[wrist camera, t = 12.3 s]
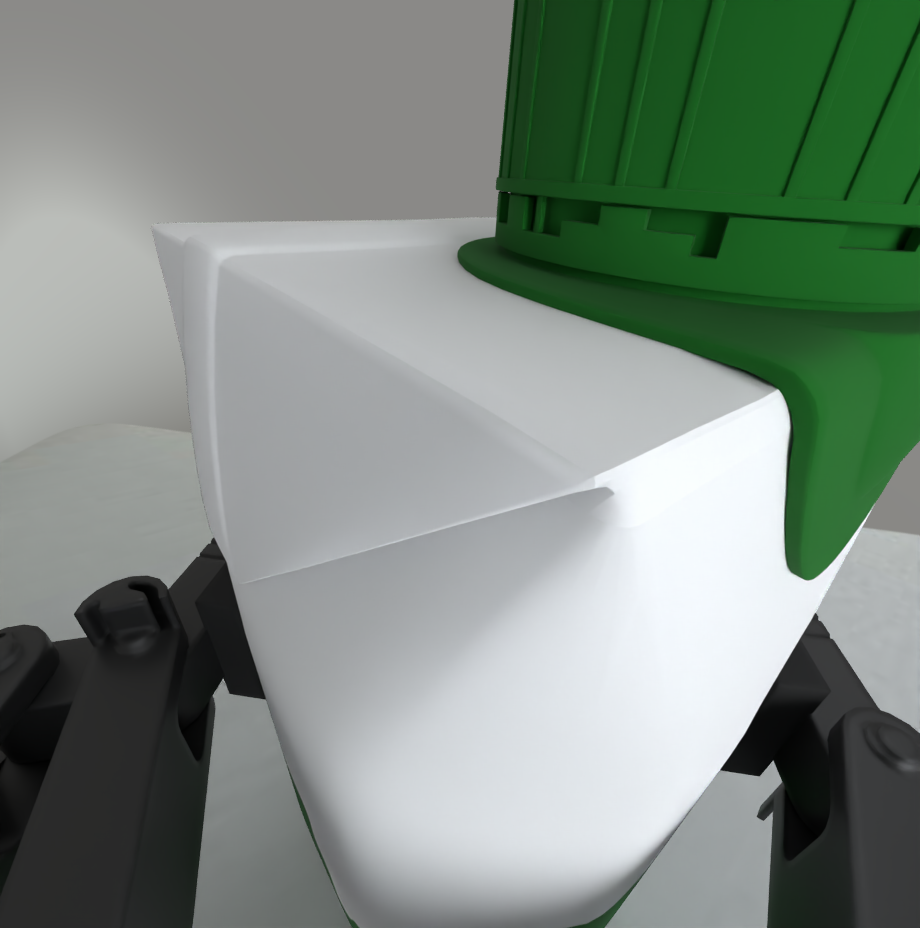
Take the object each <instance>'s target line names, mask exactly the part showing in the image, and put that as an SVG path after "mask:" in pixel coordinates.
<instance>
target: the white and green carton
mask: <svg viewBox="0 0 920 928" xmlns="http://www.w3.org/2000/svg"><path fill="white" fill-rule="evenodd" d="M496 190H500V192H499V194H498V206H497V218H489V217H488V218H486V217H479V218H452V219H451V218H449V219H421V220H360V221H359V220H358V221H284V222H283V221H280V222H209V223H207V222H206V223H205V222H203V223H157V224H153V225H152V226H151V227H152V233H153V237H154V241H155V246H156V249H157V254H158V258H159V262H160V266H161V269H162V273H163V277H164V281H165V284H166V288H167V292H168V296H169V299H170V303H171V308H172V312H173V317H174V321H175V326H176V330H177V334H178V339H179V342H180V347H181V351H182V356H183V360H184V365H185V374H186V385H187V396H188V407H189V416H190V423H191V430H192V439H193V446H194V454H195V461H196V466H197V472H198V478H199V484H200V489H201V495H202V500H203V504H204V508H205V511H206V515H207V519H208V523H209V527H210V530H211V532H212V534H213V536H214V538H215V540H216V542H217V544H218V546H219V548H220V550H221V552H222V554H223V556H224V558H225V560H226V562H227V565H228V569H229V573H230V577H231V581H232V584H233V588H234V592H235V596H236V599H237V603H238V607H239V611H240V615H241V618H242V622H243V626H244V630H245V634H246V637H247V640H248V644H249V647H250V650H251V653H252V656H253V659H254V663H255V666H256V669H257V672H258V675H259V678H260V682H261V685H262V688H263V691H264V694H265V698H266V701H267V704H268V707H269V710H270V713H271V717H272V720H273V723H274V726H275V729H276V733H277V736H278V739H279V742H280V745H281V748H282V751H283V755H284V758H285V761H286V764H287V767H288V770H289V774H290V777H291V780H292V783H293V786H294V789H295V792H296V796H297V799H298V802H299V805H300V808H301V811H302V813H303V816H304V819H305V821H306V824H307V826H308V829H309V831H310V834H311V836H312V839H313V841H314V843H315V846H316V848H317V850H318V853H319V855H320V857H321V860H322V862H323V864H324V867H325V869H326V871H327V873H328V876H329V878H330V880H331V883H332V885H333V887H334V890H335V892H336V894H337V896H338V899H339V901H340V903H341V906H342V908H343V910H344V912H345V914H346V916H347V918H348V920H349V922H350V924H351V926H352V928H604V927H605V926H606V925H607V923H608V922H609V921H610V919H611V918H612V917H613V916H614V914H615V913H616V912H617V910H618V909H619V908H620V906H621V905H622V903H623V902H624V901H625V899H626V898H627V897H628V895H629V894H630V893H631V891H632V890H633V888H634V887H635V886H636V884H637V883H638V882H639V880H640V879H641V878H642V876H643V875H644V873H645V872H646V871H647V869H648V868H649V867H650V865H651V864H652V863H653V861H654V860H655V858H656V857H657V856H658V854H659V853H660V852H661V850H662V849H663V847H664V846H665V845H666V843H667V842H668V841H669V839H670V838H671V836H672V835H673V834H674V832H675V831H676V830H677V828H678V827H679V825H680V824H681V823H682V821H683V820H684V819H685V817H686V816H687V814H688V813H689V812H690V810H691V809H692V808H693V806H694V805H695V803H696V802H697V801H698V799H699V798H700V797H701V795H702V794H703V792H704V791H705V790H706V788H707V787H708V785H709V784H710V783H711V781H712V780H713V779H714V777H715V776H716V774H717V773H718V772H719V770H720V769H721V768H722V766H723V765H724V763H725V762H726V761H727V759H728V758H729V757H730V755H731V754H732V752H733V751H734V749H735V748H736V746H737V745H738V743H739V742H740V740H741V739H742V737H743V736H744V734H745V732H746V731H747V729H748V727H749V725H750V723H751V721H752V720H753V718H754V716H755V714H756V712H757V711H758V709H759V707H760V705H761V703H762V702H763V700H764V698H765V697H766V695H767V693H768V692H769V690H770V688H771V686H772V685H773V683H774V681H775V680H776V678H777V676H778V675H779V673H780V671H781V670H782V668H783V666H784V664H785V663H786V661H787V659H788V658H789V656H790V654H791V653H792V651H793V649H794V648H795V646H796V644H797V643H798V641H799V639H800V638H801V636H802V634H803V633H804V631H805V629H806V628H807V626H808V624H809V623H810V621H811V619H812V618H813V616H814V614H815V612H816V610H817V609H818V607H819V605H820V603H821V601H822V599H823V598H824V596H825V594H826V592H827V590H828V588H829V587H830V585H831V583H832V581H833V579H834V577H835V576H836V574H837V572H838V570H839V568H840V567H841V565H842V563H843V561H844V559H845V557H846V556H847V554H848V552H849V550H850V548H851V546H852V545H853V543H854V541H855V539H856V537H857V536H858V534H859V532H860V530H861V528H862V526H863V525H864V523H865V521H866V519H867V517H868V515H869V514H870V512H871V510H872V508H873V506H874V505H875V503H876V501H877V500H878V498H879V496H880V495H881V493H882V492H883V490H884V488H885V487H886V485H887V483H888V482H889V480H890V479H891V477H892V475H893V474H894V472H895V470H896V469H897V467H898V465H899V464H900V462H901V461H902V460H903V458H904V457H905V456H906V455H907V454H908V453H909V452H910V451H911V450H912V448H913V447H914V446H915V445H916V444H917V443H918V442H919V441H920V0H514V11H513V22H512V33H511V45H510V55H509V67H508V78H507V89H506V100H505V112H504V123H503V134H502V145H501V156H500V168H499V177H498V178H497V181H496ZM504 191H505V192H504ZM508 192H510V193H508Z"/></svg>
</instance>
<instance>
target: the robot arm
mask: <svg viewBox="0 0 920 928" xmlns="http://www.w3.org/2000/svg"><path fill="white" fill-rule="evenodd" d="M74 616H75V617H76V619H77V620H78V622H79V624H80V625H81V627H82V629H83V630H84V632H85V634H86V635H87V637H85V638H78V639H71V640H63V641H56V642H51V640H50V639H49V638H48V636H47V635H46V633H45V632H44V631H43V630H41V629H40V628H39V627H38V626H30V625H19V626H13V627H7V628H4V629H2V630H0V928H192V925H193V915H194V906H195V897H196V887H197V878H198V869H199V859H200V850H201V840H202V831H203V822H204V812H205V803H206V793H207V784H208V775H209V765H210V756H211V746H212V737H213V728H214V718H215V703H214V698H213V696H212V695H213V694H214V692H215V691H216V689H217V687H218V686H219V684H220V682H221V681H222V679H223V678H224V680H225V683H226V685H227V688H228V691H229V693H230V694H234V695H240V696H247V697H253V698H260V699H266V698H265V694H264V691H263V688H262V685H261V682H260V678H259V675H258V672H257V669H256V666H255V663H254V659H253V656H252V653H251V650H250V647H249V644H248V640H247V637H246V634H245V630H244V626H243V622H242V618H241V615H240V611H239V607H238V603H237V599H236V596H235V592H234V588H233V584H232V581H231V577H230V573H229V569H228V565H227V562H226V560H225V558H224V556H223V554H222V552H221V550H220V548H219V546H218V544H217V542H216V540H215V538H213V539H212V540H211V544H208V545H207V546H206V547H205V548H204V549H203V551H202V552H201V553H200V556H199V557H196V559H195V560H194V561H193V562H192V563H191V564H190V565H189V567H188V568H187V569H186V570H185V571H184V572H183V574H182V575H181V576H180V577H179V578H178V579H177V580H176V582H175V583H174V584H173V585H172V586H171V587H170V588H169V590H168V589H167V586H166V585H165V584H164V583H163V582H162V581H161V580H160V579H158V578H154V577H150V576H132V577H128V578H125V579H121V580H118V581H114V582H112V583H110V584H108V585H106V586H104V587H102V588H100V589H99V590H97V591H95V592H94V593H93V594H92V595H90V596H89V597H88V598H87V599H86V600H84V601H83V602H82V603H81V605H80V606H79V608H78V609H77V611H76V612H75V613H74ZM773 760H774V763H775V765H776V767H777V770H778V772H779V775H780V777H781V779H782V783H781V784H780V785H779V787H778V788H777V789H776V790H775V791H774V792H773V793H772V794H771V795H770V796H769V798H768V799H767V800H766V801H765V802H764V803H763V804H762V805H761V806H760V809H759V812H758V815H757V817H758V818H759V819H761V820H763V821H764V820H765V819H766V818H767V817H768V816H769V815H770V814H771V813H772V812H773V826H772V845H771V864H770V884H769V903H768V922H767V928H920V733H918V732H917V731H916V730H915V729H914V728H912V727H911V726H910V725H909V724H907V723H905V722H903V721H902V720H900V719H898V718H896V717H895V716H893V715H891V714H889V713H887V712H884V711H881V710H880V709H879V708H878V707H877V705H876V704H875V702H874V701H873V699H872V698H871V696H870V695H869V693H868V692H867V690H866V689H865V687H864V686H863V684H862V682H861V681H860V679H859V678H858V676H857V675H856V673H855V672H854V670H853V669H852V667H851V666H850V664H849V663H848V661H847V660H846V658H845V657H844V655H843V654H842V652H841V651H840V649H839V648H838V646H837V645H836V643H835V641H834V640H833V639H830V634H829V632H828V631H827V629H826V628H825V626H824V625H823V623H822V622H821V621H818V616H817V614H816V613H815V614H814V616H813V618H812V619H811V621H810V623H809V624H808V626H807V628H806V629H805V631H804V633H803V634H802V636H801V638H800V639H799V641H798V643H797V644H796V646H795V648H794V649H793V651H792V653H791V654H790V656H789V658H788V659H787V661H786V663H785V664H784V666H783V668H782V670H781V671H780V673H779V675H778V676H777V678H776V680H775V681H774V683H773V685H772V686H771V688H770V690H769V692H768V693H767V695H766V697H765V698H764V700H763V702H762V703H761V705H760V707H759V709H758V711H757V712H756V714H755V716H754V718H753V720H752V721H751V723H750V725H749V727H748V729H747V731H746V732H745V734H744V736H743V737H742V739H741V740H740V742H739V743H738V745H737V746H736V748H735V749H734V751H733V752H732V754H731V755H730V757H729V758H728V759H727V761H726V762H725V763H724V765H723V766H722V768H721V769H720V770H722V771H729V772H735V773H741V774H748V775H754V776H760V775H761V774H762V773H763V772H764V771H765V769H766V768H767V767H768V766H769V765H770V763H771V762H772V761H773Z"/></svg>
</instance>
